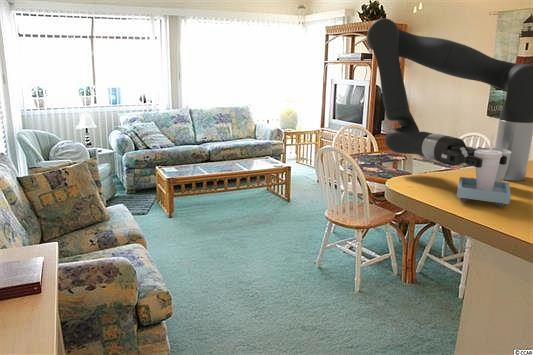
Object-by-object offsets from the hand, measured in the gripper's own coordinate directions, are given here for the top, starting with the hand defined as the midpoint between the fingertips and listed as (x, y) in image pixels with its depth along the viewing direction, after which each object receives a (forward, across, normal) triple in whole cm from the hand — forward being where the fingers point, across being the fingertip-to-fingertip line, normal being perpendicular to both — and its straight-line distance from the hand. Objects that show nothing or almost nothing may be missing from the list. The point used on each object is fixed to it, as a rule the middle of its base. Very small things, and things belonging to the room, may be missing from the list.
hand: (493, 162), depth 109 cm
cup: (-11, +14, +11) cm, 21 cm away
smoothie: (-2, +1, +8) cm, 8 cm away
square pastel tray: (-2, 0, +10) cm, 10 cm away
